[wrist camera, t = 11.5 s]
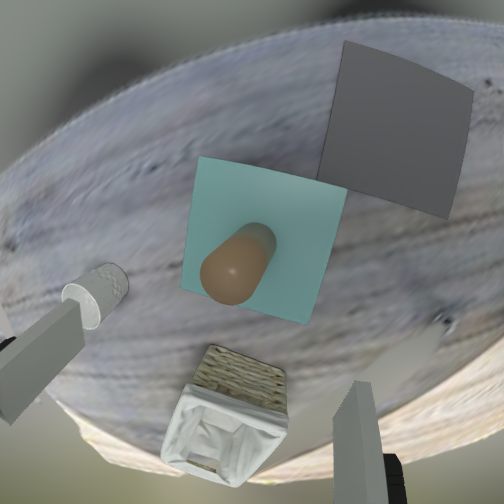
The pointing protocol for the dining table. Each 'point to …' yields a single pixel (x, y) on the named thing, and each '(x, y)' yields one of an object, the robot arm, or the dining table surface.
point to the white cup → (97, 293)
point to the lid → (259, 237)
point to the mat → (396, 131)
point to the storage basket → (228, 417)
